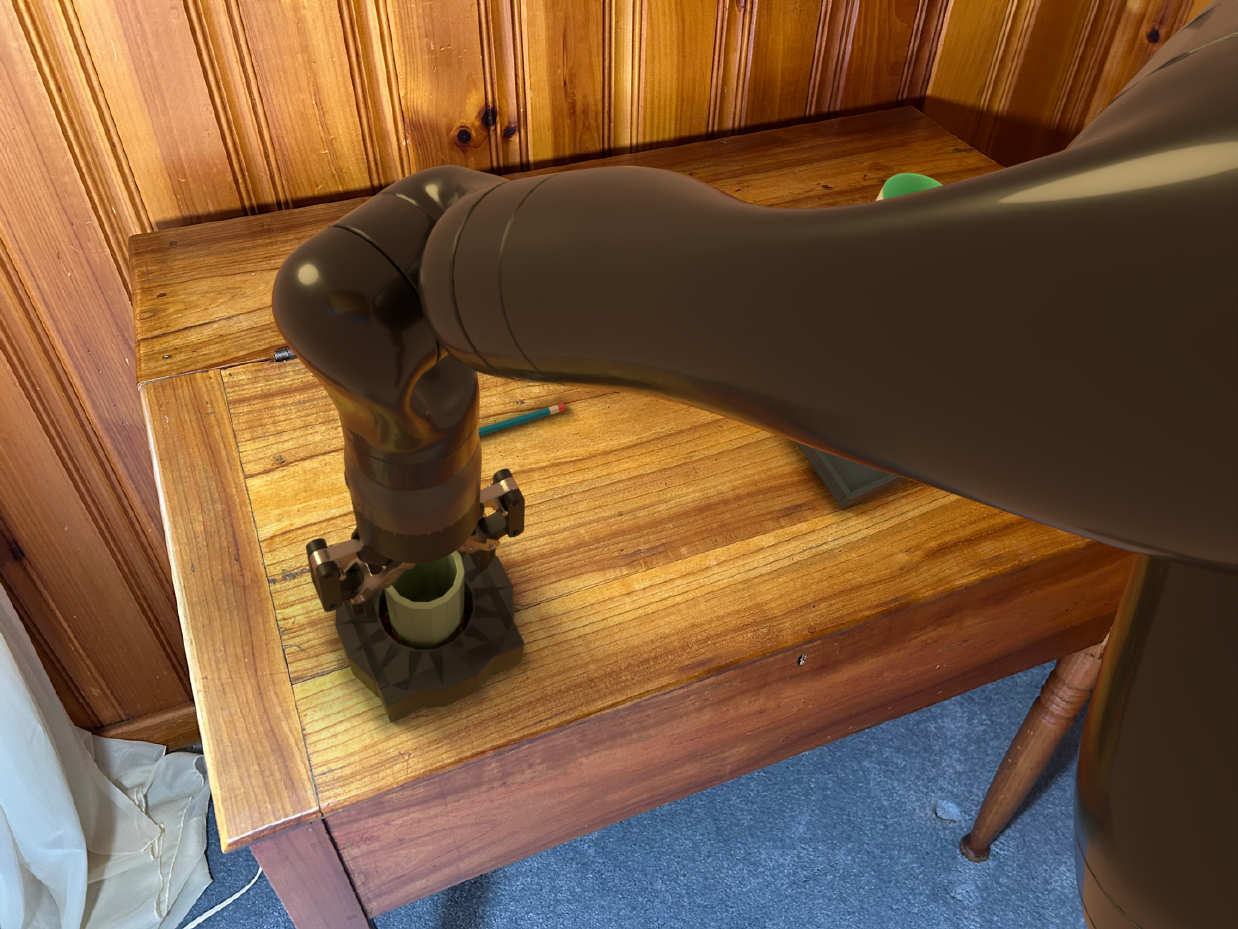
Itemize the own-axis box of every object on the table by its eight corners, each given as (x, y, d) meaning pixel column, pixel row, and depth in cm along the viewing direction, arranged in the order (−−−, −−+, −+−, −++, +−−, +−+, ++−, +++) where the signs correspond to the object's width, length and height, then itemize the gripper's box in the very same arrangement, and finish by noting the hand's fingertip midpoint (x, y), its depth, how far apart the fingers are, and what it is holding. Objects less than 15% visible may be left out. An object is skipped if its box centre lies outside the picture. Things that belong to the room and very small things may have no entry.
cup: (474, 641, 74) (477, 588, 65) (407, 671, 72) (399, 621, 63) (447, 582, 76) (445, 523, 67) (380, 609, 74) (369, 553, 65)
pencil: (565, 411, 87) (566, 407, 86) (387, 466, 81) (387, 462, 80) (561, 405, 87) (562, 401, 86) (384, 458, 81) (384, 454, 81)
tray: (947, 461, 90) (957, 450, 88) (841, 509, 86) (849, 499, 84) (848, 330, 97) (855, 318, 95) (745, 369, 92) (750, 357, 90)
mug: (917, 230, 106) (959, 159, 97) (956, 281, 103) (1004, 213, 94) (831, 252, 102) (867, 181, 93) (869, 307, 99) (910, 238, 90)
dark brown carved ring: (538, 663, 74) (542, 644, 70) (378, 737, 69) (374, 722, 66) (470, 527, 79) (471, 502, 75) (318, 587, 75) (310, 565, 71)
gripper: (315, 577, 49) (346, 669, 63) (555, 483, 54) (534, 588, 68) (269, 464, 52) (308, 576, 66) (501, 384, 57) (492, 504, 71)
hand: (423, 582), depth 67 cm, fingers open, 8 cm apart
